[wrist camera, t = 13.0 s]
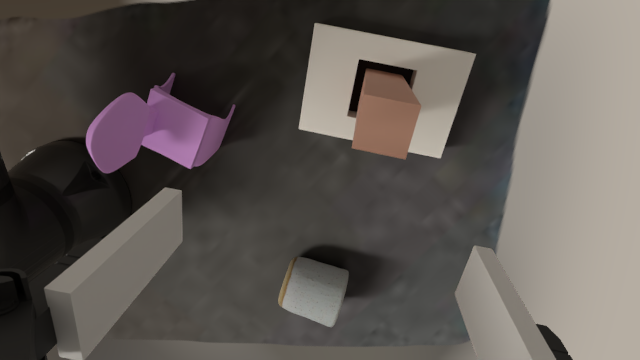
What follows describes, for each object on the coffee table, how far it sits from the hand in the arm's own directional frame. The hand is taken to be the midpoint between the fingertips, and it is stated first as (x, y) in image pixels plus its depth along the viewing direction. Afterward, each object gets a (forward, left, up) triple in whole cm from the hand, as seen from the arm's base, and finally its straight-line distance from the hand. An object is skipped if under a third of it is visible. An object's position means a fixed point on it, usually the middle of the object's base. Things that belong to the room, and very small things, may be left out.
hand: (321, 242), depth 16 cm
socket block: (+3, +3, -28) cm, 28 cm away
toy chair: (-18, -4, -28) cm, 34 cm away
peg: (+3, +3, -28) cm, 28 cm away
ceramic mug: (0, -25, -28) cm, 38 cm away
